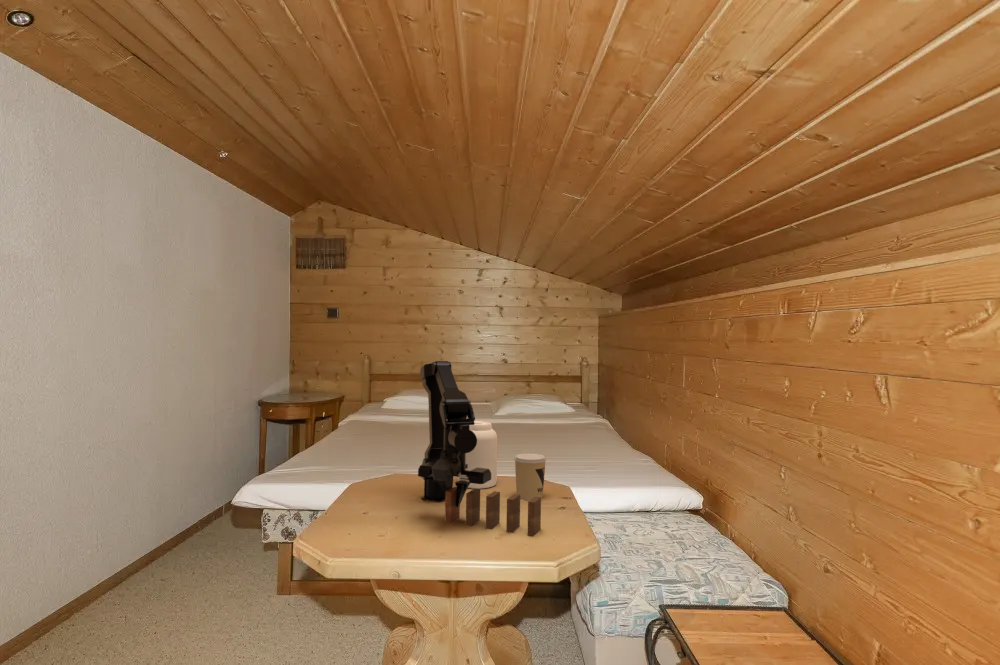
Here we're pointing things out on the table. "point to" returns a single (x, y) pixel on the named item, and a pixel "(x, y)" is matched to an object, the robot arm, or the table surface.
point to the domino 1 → (451, 506)
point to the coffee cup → (529, 475)
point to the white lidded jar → (483, 452)
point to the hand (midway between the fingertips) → (453, 506)
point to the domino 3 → (492, 510)
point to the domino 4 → (513, 513)
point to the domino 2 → (472, 507)
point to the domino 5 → (534, 516)
